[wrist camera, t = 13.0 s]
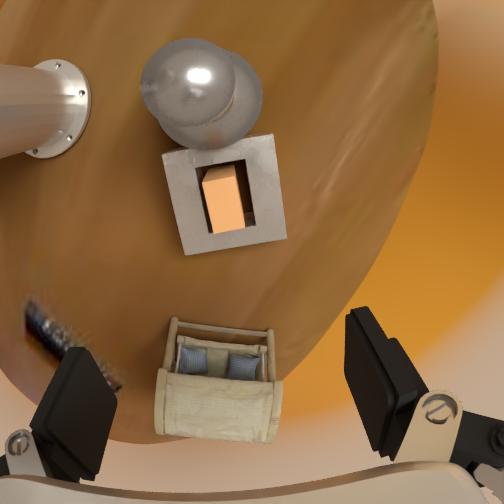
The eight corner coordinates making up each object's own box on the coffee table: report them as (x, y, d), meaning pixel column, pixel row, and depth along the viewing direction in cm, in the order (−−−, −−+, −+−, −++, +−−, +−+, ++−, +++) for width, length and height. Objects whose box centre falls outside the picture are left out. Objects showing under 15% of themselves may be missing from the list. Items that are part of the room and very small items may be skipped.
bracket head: (190, 238, 39) (159, 347, 20) (156, 71, 30) (77, 29, 12) (280, 223, 38) (322, 323, 20) (254, 52, 30) (280, -17, 12)
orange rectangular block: (217, 209, 37) (213, 233, 30) (208, 168, 35) (202, 182, 28) (242, 204, 37) (245, 227, 30) (234, 163, 35) (234, 176, 28)
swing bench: (274, 326, 45) (290, 406, 31) (262, 372, 48) (271, 449, 35) (170, 314, 43) (151, 393, 30) (169, 363, 47) (155, 440, 33)
